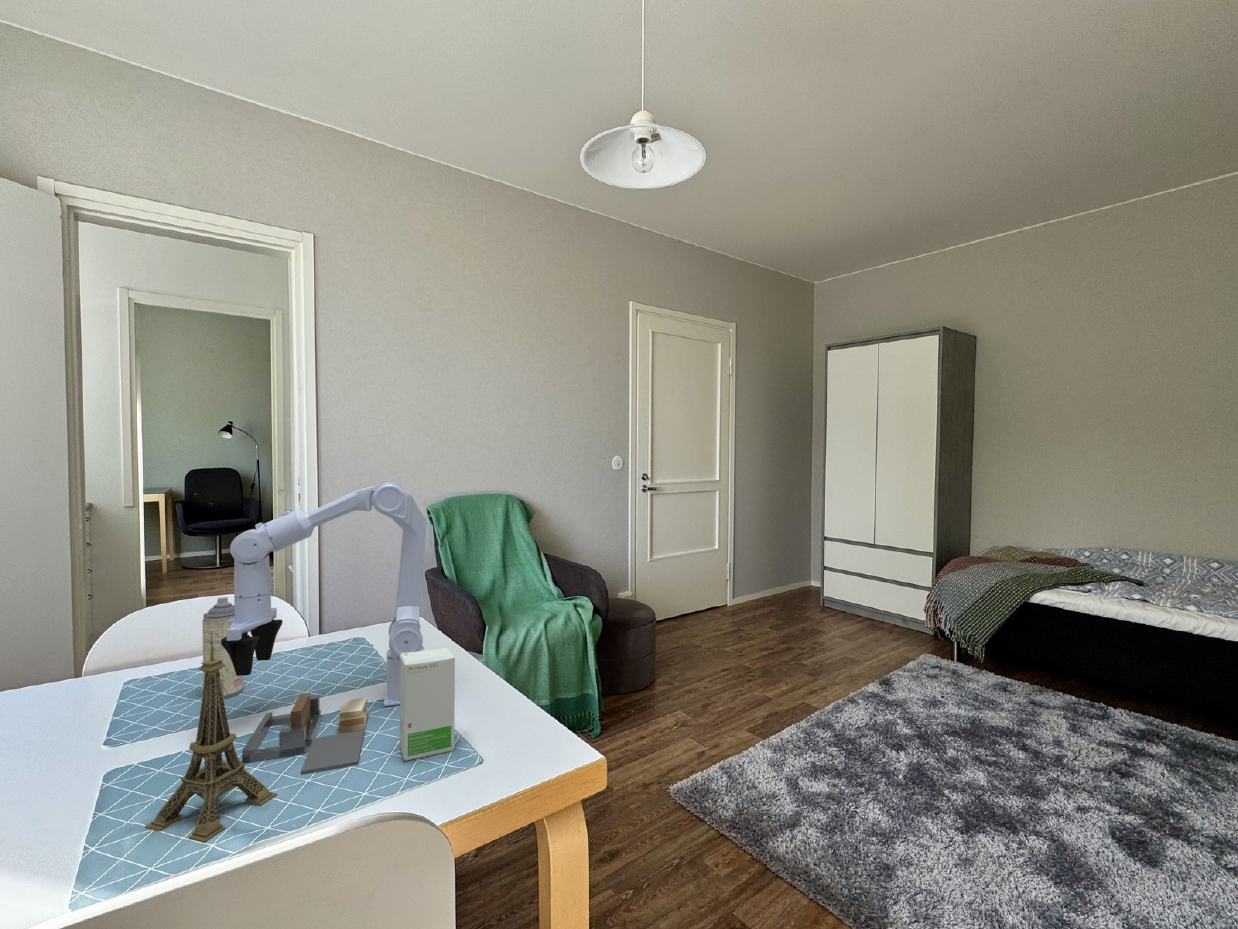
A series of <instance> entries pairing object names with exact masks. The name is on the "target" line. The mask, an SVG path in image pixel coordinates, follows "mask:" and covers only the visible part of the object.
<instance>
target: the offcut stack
mask: <svg viewBox="0 0 1238 929" xmlns="http://www.w3.org/2000/svg"><path fill="white" fill-rule="evenodd" d="M367 705H368V697H359V698H349V699H346V700H345V702H344V704H343V706H340V711H339V713H338V714H339V719H338V720H339V721H338V725H337V727H336V728H337V729H336V735H337V734H343V733H350V732H357V731H363V730H365V729H366V726H367V721H368V716H369V707H367Z"/></svg>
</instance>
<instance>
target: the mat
mask: <svg viewBox="0 0 1238 929" xmlns="http://www.w3.org/2000/svg"><path fill="white" fill-rule="evenodd" d="M365 732H366V731H365V730H363V731H357V732H350V733H343V734H337V733H336V734H332V735H325V736H318V737H314V739H313V741H312V744H311V747H309V749H308V751H307V753H306V757H305V759H304V763H303V764H302V767H301V770H300V775H305V774H311V773H316V772H317V773H318V772H324V771H328V770H329V771H330V770H334V769H340V768H346V767H347V768H348V767H351V766H357V765H358V764H359V761H360V756H361V751H362V746H363V743H364V742H363V741H364V737H365Z"/></svg>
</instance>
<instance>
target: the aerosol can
mask: <svg viewBox="0 0 1238 929" xmlns="http://www.w3.org/2000/svg"><path fill="white" fill-rule="evenodd" d="M228 600H229V598H228V597H227V596H222V597H221V596H220V597H218V598H217V603H215V604H214V605H213V607H211V608H210V609H209V610H208V611H207V612H206V613H203V616H202V617H203V618H202V619H201V620H202V662H204V661H207V660H210V653H211V631H212V641H213V653H214V658H215V659H223V661H221V662H222V663H223V664H224V665H226V666H224V667H222V668H221V669H219V672H220V678H221V685H222V691H223V698H224V700H226V699H227V700H228V699H230V698H232V697H236V696H238V695H240V694H242V693H243V692H244V676H237V675H236V673H235V670H234V666H233V663H232V661H231V658H230V656H229V654H228V653H227V651H226V650H225V648H224V647H223V646H222V645H221V639H223V638H224V637H226V636H227V629H229V628H230V627H231V625H232V624H228V620H230V619H232V618H235V608H234V604H232V603H231V602H230V601H228ZM202 673H203V674H202V675H203V676H202V680H203V681H202V682H203V684H202V686H203V687H204V679H205V672H204V671H202Z"/></svg>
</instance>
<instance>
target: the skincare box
mask: <svg viewBox="0 0 1238 929" xmlns="http://www.w3.org/2000/svg"><path fill="white" fill-rule="evenodd" d="M455 663H456V657H455V656H454V654H453V653H452V651H451V650H450V649H449V647H446V648H445V647H444V648H436V649H424V650H422V651H418V652H410V653H402V654H400V704H399V748H400V752H401V754H402V758H403V760H404V761H406V762H407V761H410V760H414V759H420V758H424V757H425V758H426V757H428V756H429V757H430V756H433V755H437V754H443V753H448V752H453V751H454V750H455V701H456V700H455V696H456V695H455V690H456V689H455V687H456V686H455V685H456V684H455V683H456V682H455V681H456V680H455V677H456V674H455V673H456V668H455V667H456V666H455V665H456V664H455Z"/></svg>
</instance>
